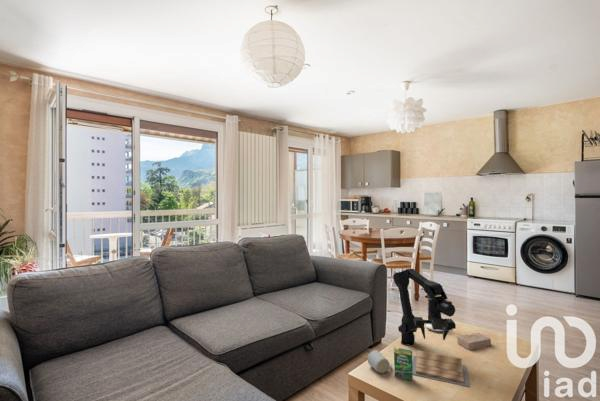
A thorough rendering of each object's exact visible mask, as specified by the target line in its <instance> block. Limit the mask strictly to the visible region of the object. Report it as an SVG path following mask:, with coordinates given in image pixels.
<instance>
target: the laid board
mask: <svg viewBox="0 0 600 401" xmlns="http://www.w3.org/2000/svg"><path fill="white" fill-rule="evenodd" d="M416 373H417V374H421V375H426V376H431V377H435V378H440V379H445V380H449V381H454V382H458V383H463V384H464V379H463V373H462V372H457V371H452V370H447V369H442V368H437V367H432V366H427V365H422V364H417V363H416Z"/></svg>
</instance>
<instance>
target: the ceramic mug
mask: <svg viewBox="0 0 600 401" xmlns="http://www.w3.org/2000/svg"><path fill="white" fill-rule="evenodd" d="M367 363H368V364H369V366H370V367H372V368H373V369H374V370H375V372H377V373H378V374H384V373H386V372H387V371H388V370H392V367H393V366H392V364H391V363H390V362H389V361H388V359H387V358H386V357H385V356H384V355H383V354H382V353H381V352H380V351H379V350H372V351H370V353H369V354H368V356H367Z"/></svg>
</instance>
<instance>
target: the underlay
mask: <svg viewBox="0 0 600 401" xmlns="http://www.w3.org/2000/svg"><path fill="white" fill-rule="evenodd" d="M412 362H413V376H417V377H421V378H427V379H431V380H436V381H439V382H446V383H449V384H453V385H459V386H463V387H470V385H469V377H468V371H467V366H466V365H465V364H462V373H463V379H464V384H463V383H458V382H454V381H449V380H445V379H440V378H435V377H431V376H426V375H421V374H417V373H416V362H417V355H412Z"/></svg>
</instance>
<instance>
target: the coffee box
mask: <svg viewBox="0 0 600 401" xmlns="http://www.w3.org/2000/svg"><path fill="white" fill-rule="evenodd" d="M393 358H394V359H393V361H394V362H393V363H394V365H393V366H394V367H393V368H394V370H393V371H394V377H395V378H398V379H402V380H405V381H410V382H412V381H413V378H414V375H413V362H412V361H413V350H412V349H406V348H400V347H397V346H394V349H393Z"/></svg>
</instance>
